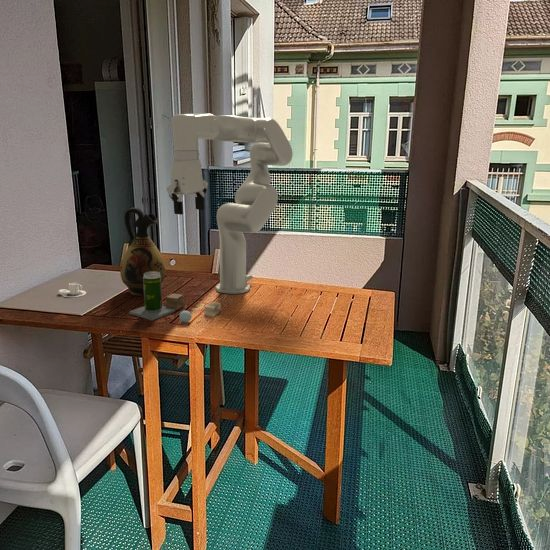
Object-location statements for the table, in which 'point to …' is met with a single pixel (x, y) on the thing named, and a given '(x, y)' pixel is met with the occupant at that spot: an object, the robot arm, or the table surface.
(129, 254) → the ceramic jug
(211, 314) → the beech block
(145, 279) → the beer can
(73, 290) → the teacup and saucer
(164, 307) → the coaster
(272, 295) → the table surface
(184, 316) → the grey ball
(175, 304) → the tan cube
